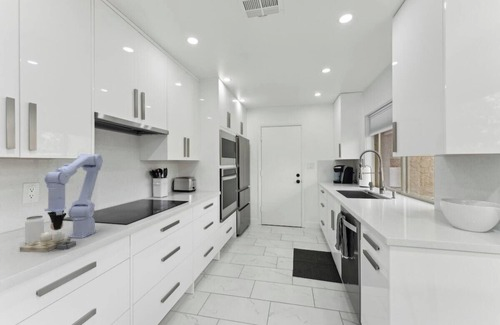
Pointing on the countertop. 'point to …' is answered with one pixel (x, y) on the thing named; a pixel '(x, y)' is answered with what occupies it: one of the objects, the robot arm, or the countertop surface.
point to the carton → (42, 246)
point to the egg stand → (66, 245)
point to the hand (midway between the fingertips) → (56, 228)
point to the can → (33, 229)
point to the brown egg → (53, 227)
